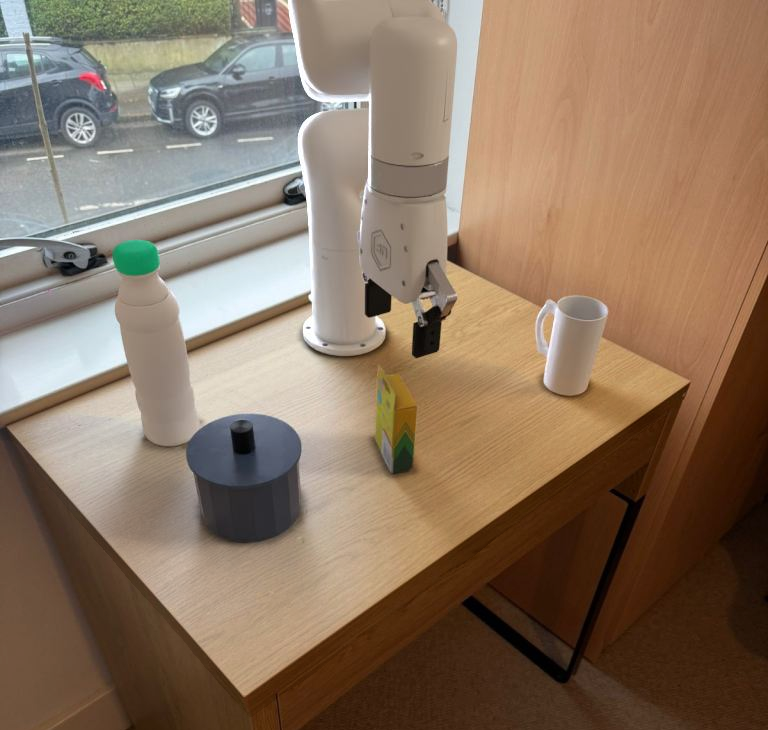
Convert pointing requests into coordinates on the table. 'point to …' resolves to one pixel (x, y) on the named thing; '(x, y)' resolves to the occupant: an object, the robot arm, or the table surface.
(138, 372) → the water bottle
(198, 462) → the pot lid
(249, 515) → the pot
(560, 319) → the mug
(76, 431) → the table surface
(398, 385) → the crayon box
